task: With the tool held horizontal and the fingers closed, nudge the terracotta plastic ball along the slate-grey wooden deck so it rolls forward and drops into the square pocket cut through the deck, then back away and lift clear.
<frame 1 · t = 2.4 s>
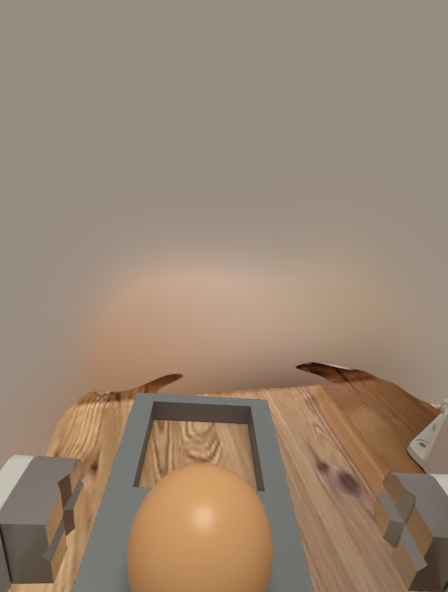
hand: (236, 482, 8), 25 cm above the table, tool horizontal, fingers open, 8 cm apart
deck: (197, 515, 33), on the table
ball: (201, 543, 23), point 8 cm above the table, touching deck
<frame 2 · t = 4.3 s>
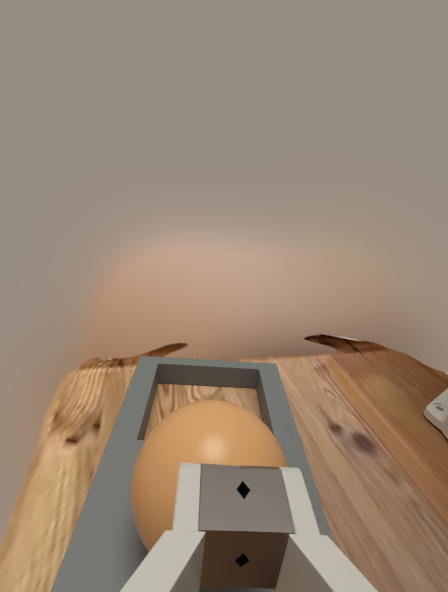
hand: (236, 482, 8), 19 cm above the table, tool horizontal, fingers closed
deck: (205, 471, 31), on the table
ball: (210, 481, 21), point 8 cm above the table, touching deck
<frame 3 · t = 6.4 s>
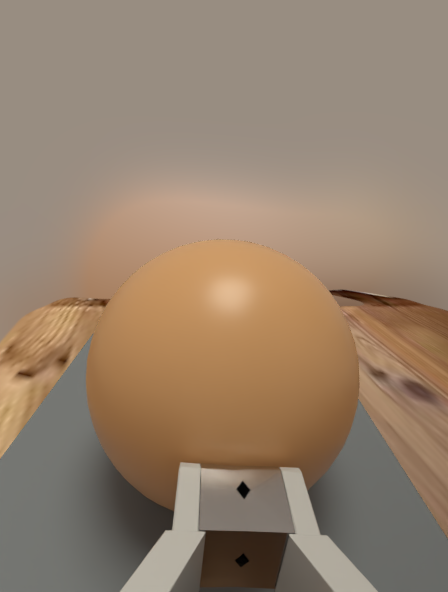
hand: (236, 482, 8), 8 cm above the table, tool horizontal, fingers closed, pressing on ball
deck: (209, 413, 22), on the table
ball: (222, 367, 13), point 8 cm above the table, tilted 9°, touching deck, gripper
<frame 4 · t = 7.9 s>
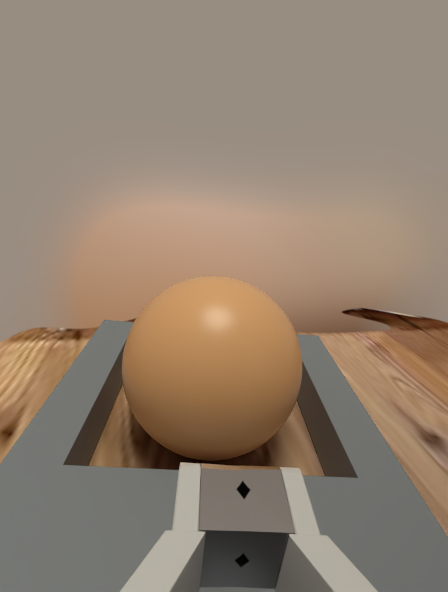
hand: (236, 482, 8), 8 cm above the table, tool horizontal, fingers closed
deck: (209, 529, 15), on the table
ball: (212, 363, 19), point 5 cm above the table, tilted 168°
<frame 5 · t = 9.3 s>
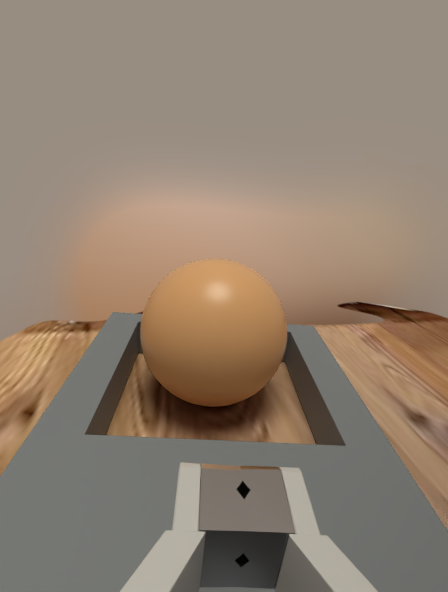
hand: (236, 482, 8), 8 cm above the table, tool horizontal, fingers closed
deck: (214, 492, 17), on the table
ball: (214, 330, 23), point 5 cm above the table, tilted 166°
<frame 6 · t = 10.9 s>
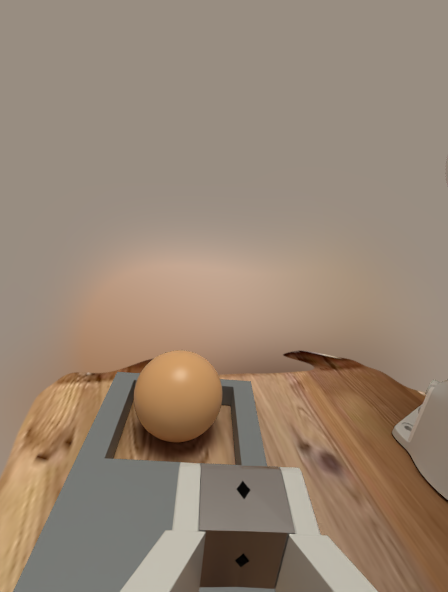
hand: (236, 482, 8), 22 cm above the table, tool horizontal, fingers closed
deck: (171, 489, 32), on the table
ball: (178, 394, 37), point 5 cm above the table, tilted 169°
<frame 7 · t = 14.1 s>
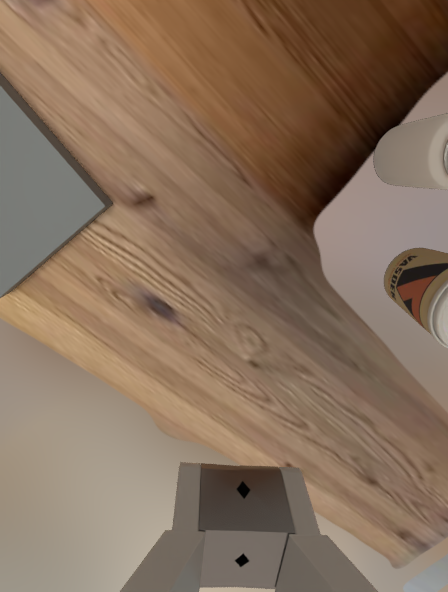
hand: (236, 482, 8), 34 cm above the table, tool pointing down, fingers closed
can: (398, 155, 38), on the table
coffee cup: (411, 275, 43), on the table
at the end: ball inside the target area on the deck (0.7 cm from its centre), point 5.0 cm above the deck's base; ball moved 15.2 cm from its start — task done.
